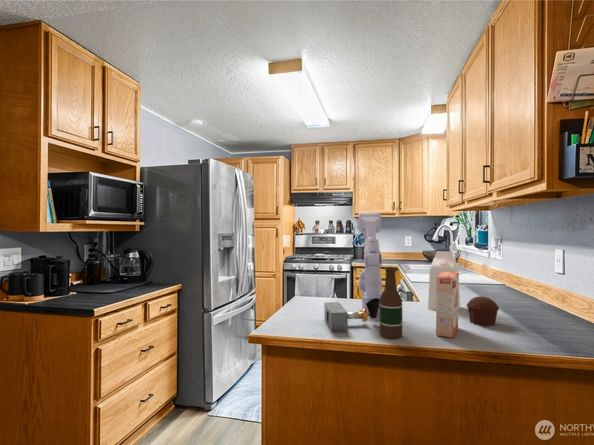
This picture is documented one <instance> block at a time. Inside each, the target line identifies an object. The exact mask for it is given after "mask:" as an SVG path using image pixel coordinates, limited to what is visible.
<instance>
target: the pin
mask: <svg viewBox="0 0 594 445" xmlns="http://www.w3.org/2000/svg"><path fill="white" fill-rule="evenodd" d="M360 309H361V311H349V312H348V311H347V312H348V320H361V321H362V323H364V322H365V323H366V322H368V314H367V312H366V309H362V308H360Z"/></svg>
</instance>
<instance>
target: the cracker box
mask: <svg viewBox="0 0 594 445" xmlns="http://www.w3.org/2000/svg"><path fill="white" fill-rule="evenodd" d="M459 275H460V273H459V272H458V273H453V272H443V273H441V274H440V275H438V276H437V282H436V310H435V311H436V312H435V313H436V315H435V317H436V321H435V324H436V325H435V327H436V328H435V333H436V336H440V337H445V338H450V339H454V337H455V335H456V333H457V331H458V328H459V310H458V287H459V288H460V281H459V280H460V276H459Z"/></svg>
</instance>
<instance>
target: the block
mask: <svg viewBox="0 0 594 445" xmlns="http://www.w3.org/2000/svg"><path fill="white" fill-rule="evenodd" d="M323 307H324V309H323V310H324V321H325V323H326V325H327V327H328V329H329V330H330V332H331V333H344V332H348V331H349V327H348V326H349V324H348V323H349V321H348V320H349V319H348V311H347V310H346V308H345V307H344V306H343V305H342V304H341V303H340V302H339V301H336V302H335V301H334V302H333V301H332V302H324V304H323Z"/></svg>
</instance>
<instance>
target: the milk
mask: <svg viewBox="0 0 594 445" xmlns="http://www.w3.org/2000/svg"><path fill="white" fill-rule="evenodd" d="M443 272H453V273H459V266H458V264H457V261H456V259H455V257H454V255H453V253H452V251H438V250H437V251H436V252H435V255H434V257H433V259H432V262H431V265H430V268H429V278H428V279H429V281H428V283H429V284H428V297H427V298H428V300H427V301H428V302H427V309H428V310H433V311H434V310H435V311H436V282H437V276H438V275H440V274H441V273H443ZM460 298H461V295H460V286H459V287H458V311H459V310H460V308H461V299H460Z"/></svg>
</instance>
